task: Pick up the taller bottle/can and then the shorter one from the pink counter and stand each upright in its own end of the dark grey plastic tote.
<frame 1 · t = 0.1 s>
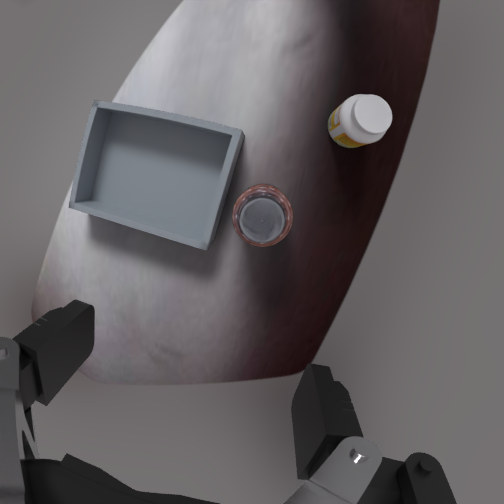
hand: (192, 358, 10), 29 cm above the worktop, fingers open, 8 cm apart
supplement bottle 2: (263, 207, 38), on the worktop
tote: (158, 169, 37), on the worktop
supplement bottle: (347, 127, 35), on the worktop
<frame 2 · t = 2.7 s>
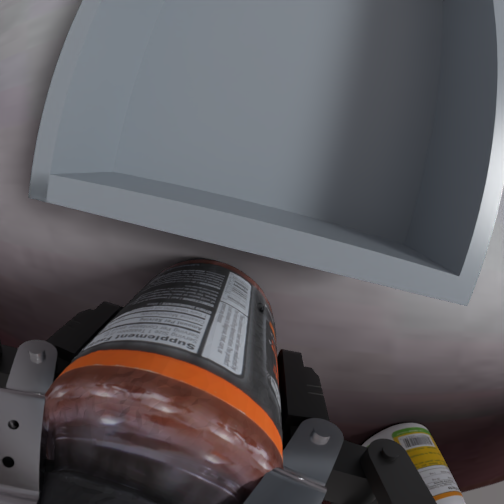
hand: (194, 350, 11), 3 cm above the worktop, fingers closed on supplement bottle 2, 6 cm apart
supplement bottle 2: (208, 317, 14), on the worktop, touching gripper
tote: (307, 16, 10), on the worktop
supplement bottle: (390, 446, 16), on the worktop
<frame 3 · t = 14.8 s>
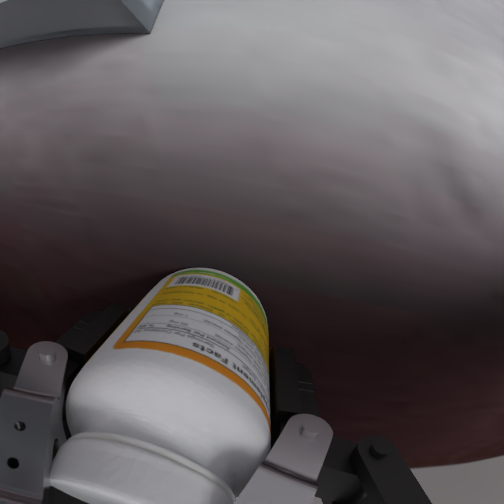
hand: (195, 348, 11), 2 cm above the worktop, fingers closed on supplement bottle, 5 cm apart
supplement bottle: (206, 322, 13), on the worktop, touching gripper
when the fingers open (4 cm above the worktop, at t = 21.7 s): supplement bottle drops 1 cm, resting on tote.
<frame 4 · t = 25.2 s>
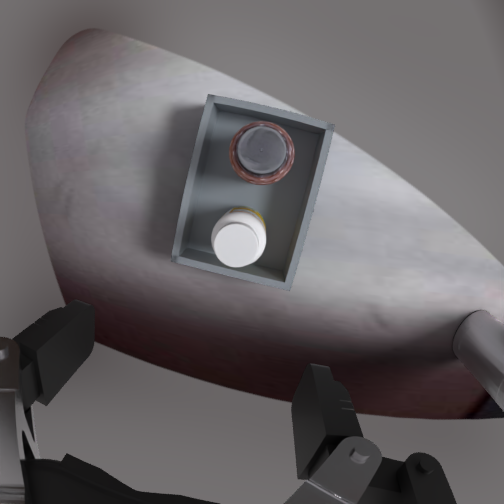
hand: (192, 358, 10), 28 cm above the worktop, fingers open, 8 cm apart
supplement bottle 2: (261, 158, 35), point 1 cm above the worktop, touching tote
tote: (251, 190, 37), on the worktop
supplement bottle: (243, 227, 37), point 1 cm above the worktop, touching tote
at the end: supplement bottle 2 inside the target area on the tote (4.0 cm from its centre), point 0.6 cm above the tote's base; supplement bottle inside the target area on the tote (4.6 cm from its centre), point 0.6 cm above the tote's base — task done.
